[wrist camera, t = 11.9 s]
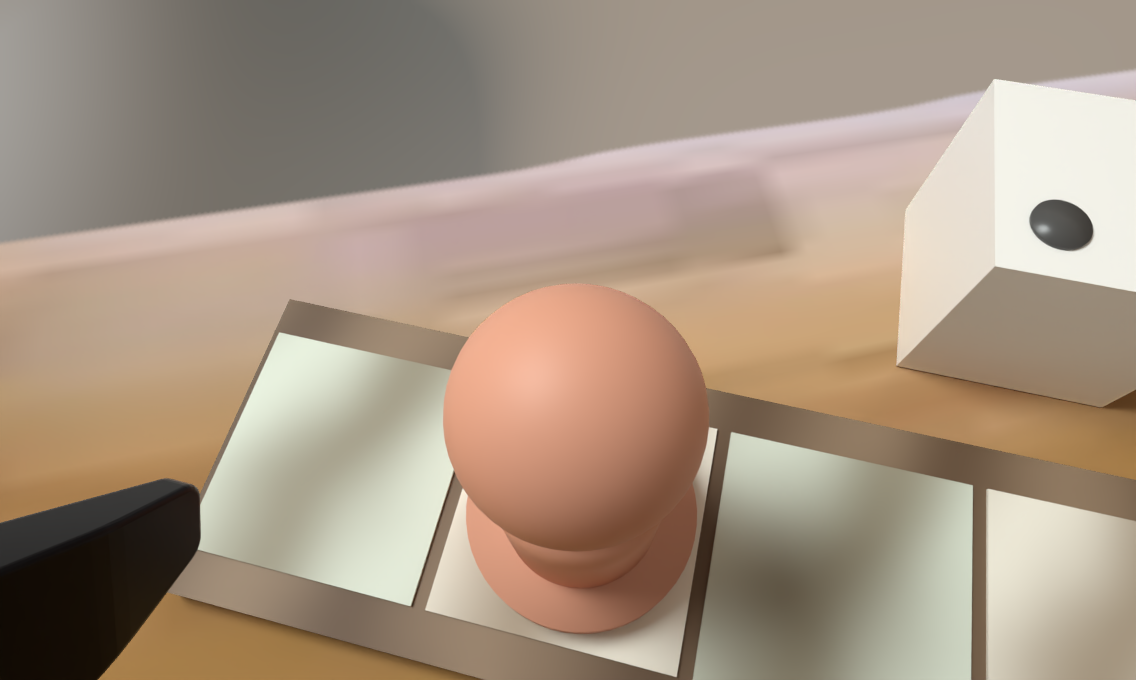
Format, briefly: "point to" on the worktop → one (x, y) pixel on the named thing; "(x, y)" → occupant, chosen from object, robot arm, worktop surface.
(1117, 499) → the board
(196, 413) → the worktop surface
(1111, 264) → the die
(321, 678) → the worktop surface
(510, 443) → the pawn
